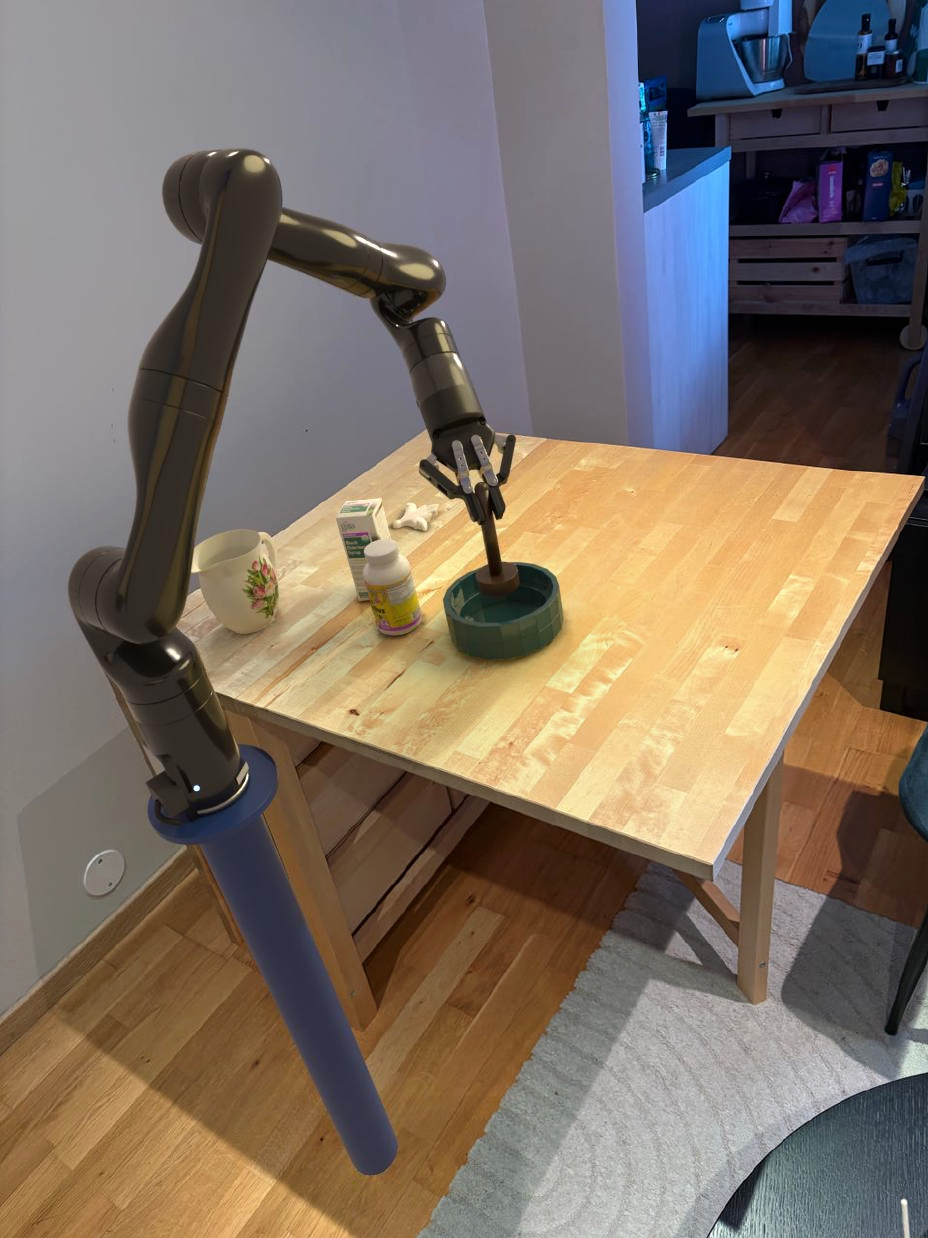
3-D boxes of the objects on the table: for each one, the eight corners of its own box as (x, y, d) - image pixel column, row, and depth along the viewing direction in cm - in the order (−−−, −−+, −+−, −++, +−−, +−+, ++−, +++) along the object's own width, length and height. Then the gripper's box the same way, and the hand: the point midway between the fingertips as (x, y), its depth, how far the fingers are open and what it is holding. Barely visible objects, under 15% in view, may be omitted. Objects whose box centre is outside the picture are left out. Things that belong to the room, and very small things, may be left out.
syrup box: (357, 602, 139) (333, 518, 131) (367, 581, 144) (344, 498, 136) (393, 600, 138) (371, 514, 130) (402, 579, 143) (381, 495, 135)
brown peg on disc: (498, 601, 119) (478, 497, 111) (469, 588, 123) (448, 486, 115) (528, 581, 122) (511, 478, 114) (499, 569, 126) (481, 468, 118)
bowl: (505, 678, 117) (498, 640, 114) (428, 637, 128) (420, 602, 125) (587, 619, 125) (583, 582, 122) (508, 586, 136) (502, 551, 132)
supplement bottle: (371, 621, 134) (350, 545, 127) (413, 605, 136) (394, 529, 129) (386, 643, 129) (365, 565, 122) (429, 626, 130) (411, 548, 123)
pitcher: (315, 587, 145) (291, 510, 138) (254, 656, 132) (223, 574, 124) (258, 583, 149) (232, 508, 142) (193, 649, 136) (160, 570, 129)
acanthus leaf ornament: (408, 509, 163) (406, 499, 162) (443, 510, 160) (441, 500, 159) (390, 529, 157) (387, 520, 156) (425, 531, 154) (423, 521, 153)
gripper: (395, 398, 114) (440, 526, 110) (500, 369, 116) (547, 494, 112) (395, 425, 121) (437, 545, 117) (493, 397, 123) (537, 514, 120)
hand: (491, 519), depth 115 cm, fingers closed on brown peg on disc
